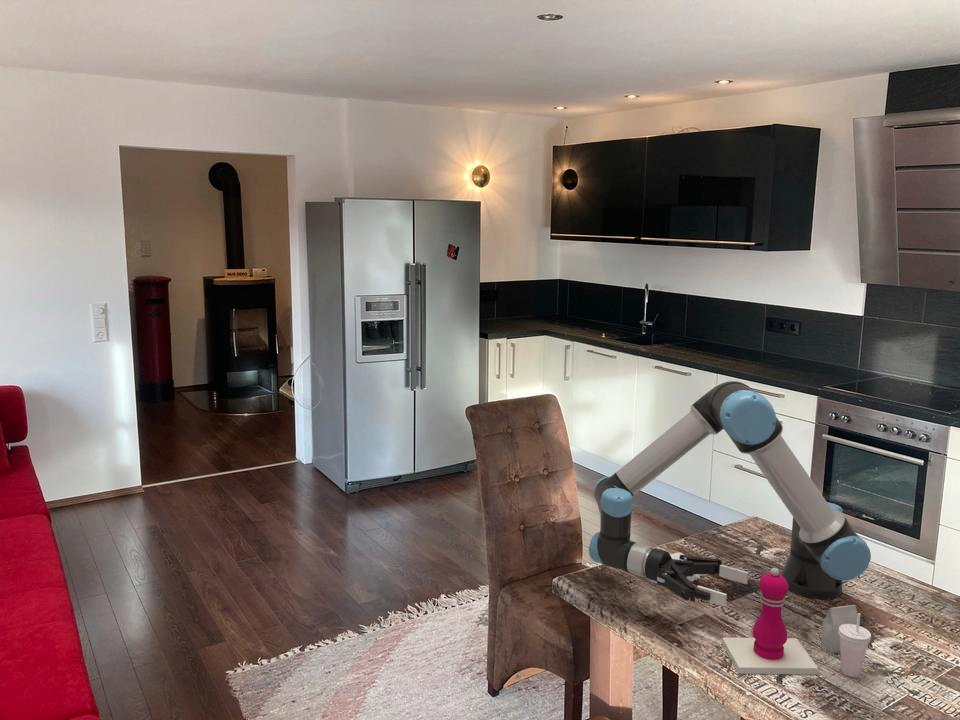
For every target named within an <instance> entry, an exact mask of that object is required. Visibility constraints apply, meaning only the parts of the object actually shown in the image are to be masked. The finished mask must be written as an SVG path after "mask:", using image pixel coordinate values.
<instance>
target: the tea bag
mask: <svg viewBox="0 0 960 720" xmlns="http://www.w3.org/2000/svg"><path fill="white" fill-rule="evenodd" d="M857 615H858V611H857V605H856V604H849V605H842V606H835V607H834V606H833V607H829V609H828V612H827V613H826V616H825V617H824V619H823V621H822V628H821V629H822V631H821V640H820V645H821V646H822V647H823V648H824V649H826V650H827V651H828V652H829V653H830V654H838V653H840V635H839V633H838V630H839V627H840V626H841V625H843V624H854V625H857ZM859 626H860V624H859Z"/></svg>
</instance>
